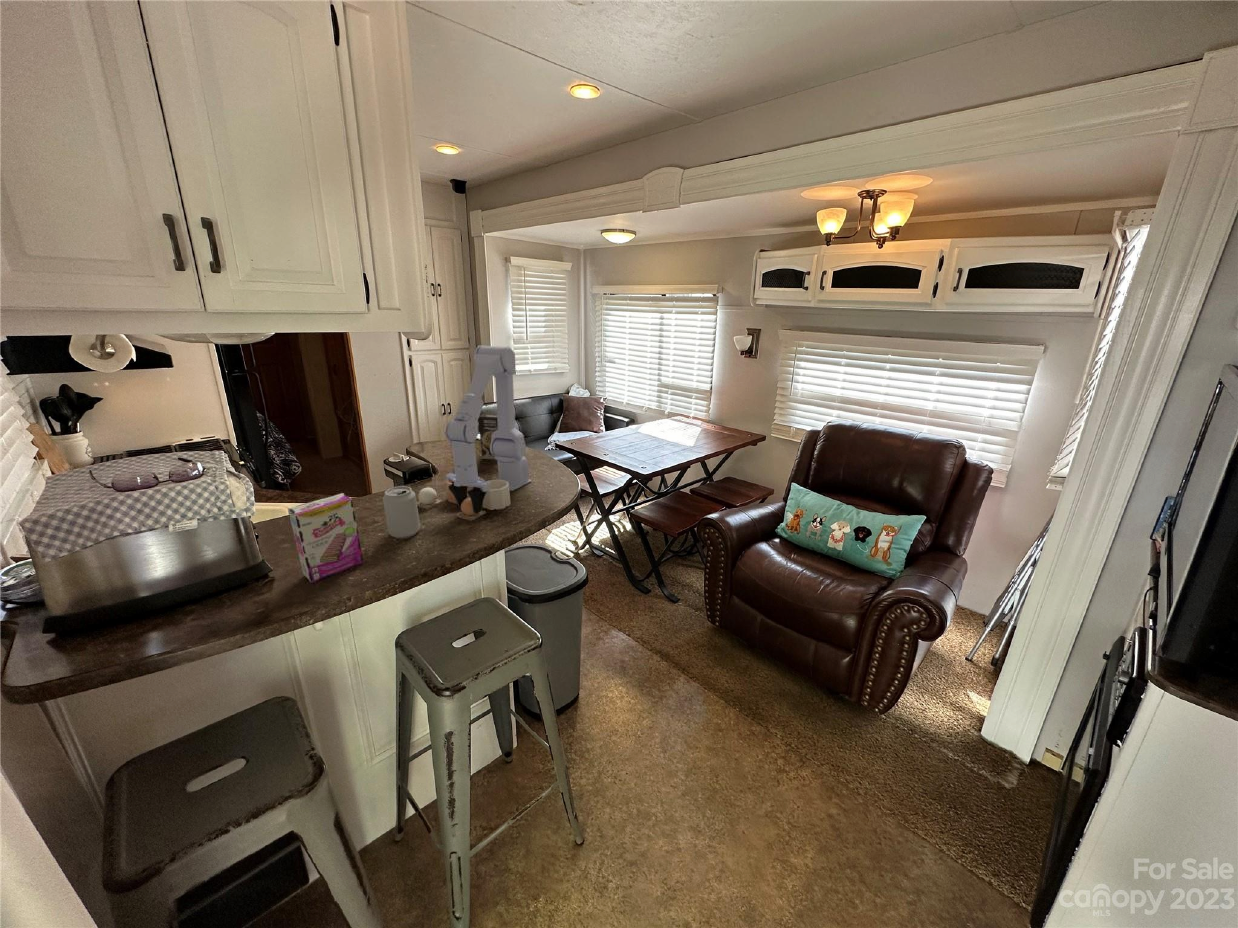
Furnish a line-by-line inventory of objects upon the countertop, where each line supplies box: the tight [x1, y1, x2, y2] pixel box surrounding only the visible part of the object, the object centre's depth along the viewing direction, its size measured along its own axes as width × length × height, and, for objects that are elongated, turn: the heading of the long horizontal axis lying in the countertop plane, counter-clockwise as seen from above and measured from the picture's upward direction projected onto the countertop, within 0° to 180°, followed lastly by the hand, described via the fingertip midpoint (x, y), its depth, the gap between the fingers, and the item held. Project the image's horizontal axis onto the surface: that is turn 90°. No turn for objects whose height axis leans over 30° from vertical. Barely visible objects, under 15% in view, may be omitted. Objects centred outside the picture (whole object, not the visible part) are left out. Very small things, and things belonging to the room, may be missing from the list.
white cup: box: [482, 479, 512, 511], centre depth 139 cm, size 8×8×6 cm
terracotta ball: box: [460, 498, 477, 517], centre depth 132 cm, size 5×5×5 cm
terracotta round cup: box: [445, 481, 473, 504], centre depth 143 cm, size 8×8×6 cm
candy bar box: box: [287, 492, 364, 584], centre depth 104 cm, size 11×5×16 cm, turn 140°
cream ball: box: [418, 487, 438, 505], centre depth 138 cm, size 5×5×5 cm
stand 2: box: [456, 510, 486, 522], centre depth 133 cm, size 5×5×1 cm
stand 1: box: [416, 498, 444, 510], centre depth 139 cm, size 5×5×1 cm
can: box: [382, 485, 421, 539], centre depth 121 cm, size 8×8×12 cm
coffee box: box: [478, 412, 498, 460], centre depth 176 cm, size 9×6×16 cm
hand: (470, 509), depth 132 cm, fingers closed on terracotta ball, 5 cm apart
